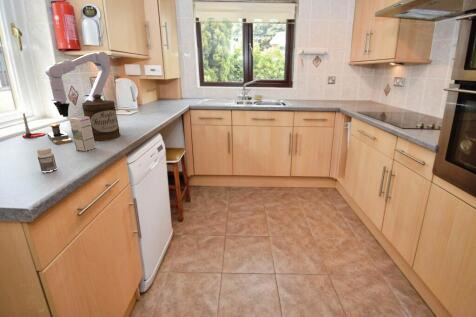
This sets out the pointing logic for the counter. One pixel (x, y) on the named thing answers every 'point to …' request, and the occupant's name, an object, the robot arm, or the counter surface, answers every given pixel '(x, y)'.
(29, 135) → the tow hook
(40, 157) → the pill bottle
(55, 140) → the slotted panel plate
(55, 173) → the counter surface
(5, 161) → the counter surface
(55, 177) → the counter surface
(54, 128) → the pin
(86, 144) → the syrup box
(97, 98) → the brown labelled jar
